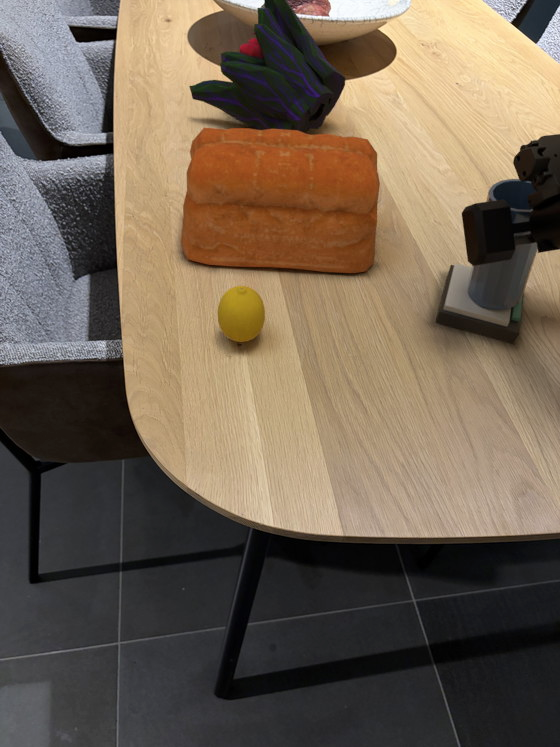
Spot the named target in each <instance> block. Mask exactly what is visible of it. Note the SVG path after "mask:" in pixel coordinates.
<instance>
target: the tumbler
mask: <svg viewBox="0 0 560 747" xmlns="http://www.w3.org/2000/svg"><path fill="white" fill-rule="evenodd" d="M535 192H537V191H536V190H534V188H533V187H532V184H531V182H530V181H525V182H522V181H520V180H519V178H508V179H503V180H500V181H497V182H495V183H494V184H492V185H491V187H490V188H489V190H488V192H487V197H486V201H485V202H489V201H497V200H505V201H506V203H507V204H508V205H509V206H510V208H511V216H512V224H514V223H521V222H528V221H529V217H530V211H531V210H533V207H529V205H528V197H527V195H530V194H532V193H535ZM527 234H531V232H525V233H518V234H514V236H518V237H519V236H520V235H521V236H522V235H527ZM515 249H516V250H515V252H514V254H513V256H512V259H511V260H506V261H501V262H495V263H489V264H483V265H476V266H473V265H471V267H472V268H471V273H470V277H469V281H468V288H467V291H468V294H469V296H470V298H471V299H472V300H473V301H474V302H475V303H477V304H478V305H480V306H482V307H485V308H489V309H495V310H504V309H509V308H512V307H514V306H516V305H517V304H518V303H519V302H520V301H521V299H522V296H523V293H524V294H525V291H526V287H527V284H528V282H529V278H530V276H531V271H532V268H533V266H534V262H535V259H536V256H537V253H538V248H537V243H532V244H526V245H519V246H516V248H515Z"/></svg>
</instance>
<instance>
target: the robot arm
mask: <svg viewBox="0 0 560 747" xmlns="http://www.w3.org/2000/svg"><path fill="white" fill-rule="evenodd" d="M512 163H513V167H514V169H515V173H516V175H517V177H518V179H519V180H520V181H522V182H525V181H530V182H531V184H532V187H533V188H534V190H536V191H537V192H535V193H532V194H530V195H527V197H528V205H529V207H533V210H531V211H530V217H529V221H528V222H521V223H514V224H512V216H511V208H510V206H509V205H508V204H507V203H506V201H505V200H497V201H489V202H486V201H483V202H475V203H473V204H470V205H468V206H465V207H464V208H463V210H462V212H461V218H462V220H461V221H462V226H463V235H464V242H465V250H466V258H467V263H469V264H470V265H471V266H472V265H473V266H476V265H483V264H489V263H495V262H501V261H506V260H511V259H512V256H513V254H514V252H515V250H516V249H515V248H516V246H519V245H526V244H532V243H537V248H538V249H537V253H540V254H541V253H546V252H553V251H559V250H560V133H556V134H548V135H542V136H540V137H539V138H538V139H534V140H530V142H528V143H527V144H522V145H521V146H520V148H519V151H518V153H517V154H515V155H514V157H513V162H512ZM525 232H531V234H527V235H522V236H521V235H520V236H519V237H518V236H514V234H518V233H525Z"/></svg>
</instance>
